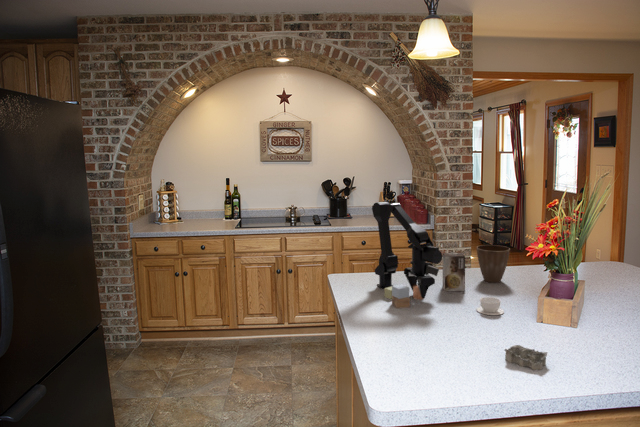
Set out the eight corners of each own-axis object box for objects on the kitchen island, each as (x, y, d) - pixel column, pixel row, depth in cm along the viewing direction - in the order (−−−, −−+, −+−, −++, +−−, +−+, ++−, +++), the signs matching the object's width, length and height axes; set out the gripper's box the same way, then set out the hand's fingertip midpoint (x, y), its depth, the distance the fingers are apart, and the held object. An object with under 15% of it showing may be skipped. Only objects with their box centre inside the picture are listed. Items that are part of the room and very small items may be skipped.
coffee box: (462, 287, 210) (462, 252, 208) (465, 291, 204) (465, 255, 202) (441, 286, 211) (442, 252, 209) (444, 291, 205) (444, 255, 203)
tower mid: (392, 295, 188) (392, 285, 188) (402, 293, 190) (402, 284, 190) (398, 298, 184) (398, 289, 183) (409, 297, 186) (409, 287, 185)
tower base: (392, 304, 190) (391, 294, 189) (404, 302, 191) (404, 293, 190) (396, 308, 184) (396, 298, 184) (409, 307, 186) (409, 297, 185)
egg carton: (502, 361, 137) (502, 348, 137) (512, 353, 142) (513, 340, 142) (539, 373, 130) (539, 359, 129) (549, 364, 135) (549, 350, 134)
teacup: (506, 316, 173) (506, 304, 172) (478, 315, 175) (478, 303, 174) (500, 307, 182) (501, 296, 182) (474, 306, 184) (475, 295, 184)
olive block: (384, 297, 199) (384, 288, 198) (390, 295, 201) (390, 286, 201) (391, 299, 196) (391, 290, 195) (397, 297, 198) (397, 288, 197)
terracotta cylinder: (411, 296, 198) (411, 285, 198) (421, 295, 199) (421, 284, 199) (415, 299, 194) (415, 288, 193) (425, 298, 195) (426, 287, 194)
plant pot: (473, 276, 228) (473, 244, 226) (504, 276, 226) (505, 244, 223) (479, 284, 213) (480, 251, 211) (512, 285, 211) (514, 251, 209)
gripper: (446, 263, 187) (446, 300, 189) (426, 253, 205) (426, 287, 207) (421, 265, 185) (421, 302, 187) (403, 255, 203) (403, 289, 205)
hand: (418, 295), depth 197 cm, fingers open, 9 cm apart
